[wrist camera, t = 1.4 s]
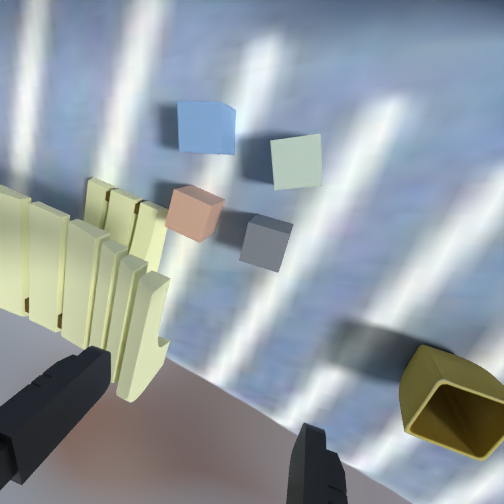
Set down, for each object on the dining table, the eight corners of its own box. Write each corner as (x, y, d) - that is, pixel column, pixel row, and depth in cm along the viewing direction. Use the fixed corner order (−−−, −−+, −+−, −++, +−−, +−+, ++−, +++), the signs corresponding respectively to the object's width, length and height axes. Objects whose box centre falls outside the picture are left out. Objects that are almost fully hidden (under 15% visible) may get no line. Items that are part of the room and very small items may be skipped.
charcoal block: (257, 213, 35) (248, 222, 30) (293, 224, 34) (290, 234, 30) (248, 247, 37) (239, 260, 32) (283, 258, 36) (278, 272, 32)
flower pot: (384, 374, 39) (402, 433, 30) (411, 327, 35) (440, 379, 27) (446, 395, 37) (483, 463, 29) (480, 349, 34) (533, 411, 26)
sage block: (277, 142, 31) (270, 140, 27) (320, 137, 30) (320, 133, 26) (280, 185, 33) (274, 190, 28) (321, 181, 32) (322, 185, 27)
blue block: (196, 109, 32) (177, 100, 28) (235, 110, 31) (222, 101, 27) (197, 152, 34) (178, 151, 29) (234, 154, 33) (221, 154, 28)
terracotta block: (192, 184, 36) (173, 188, 31) (225, 199, 35) (211, 205, 31) (182, 217, 38) (164, 226, 33) (214, 232, 37) (199, 242, 33)
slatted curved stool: (41, 247, 46) (-112, 297, 29) (43, 155, 39) (-150, 154, 23) (196, 319, 43) (123, 417, 27) (224, 233, 37) (152, 293, 20)
